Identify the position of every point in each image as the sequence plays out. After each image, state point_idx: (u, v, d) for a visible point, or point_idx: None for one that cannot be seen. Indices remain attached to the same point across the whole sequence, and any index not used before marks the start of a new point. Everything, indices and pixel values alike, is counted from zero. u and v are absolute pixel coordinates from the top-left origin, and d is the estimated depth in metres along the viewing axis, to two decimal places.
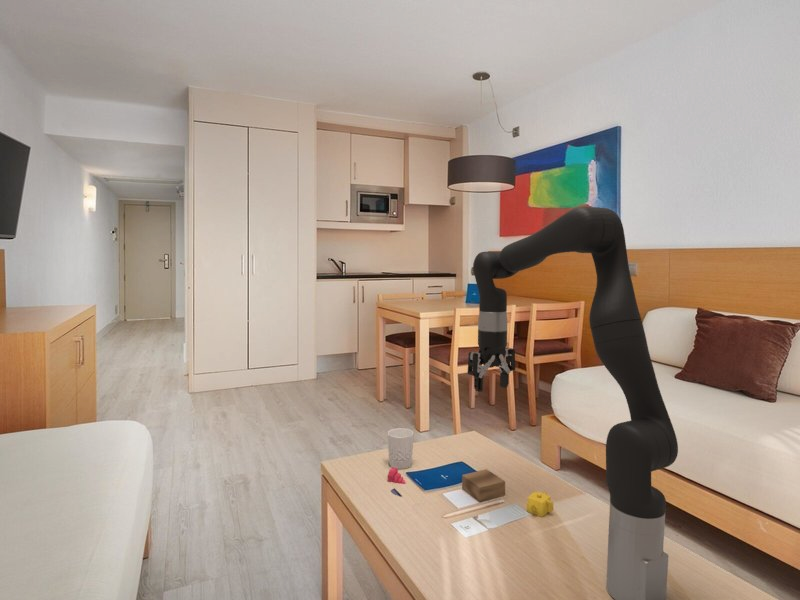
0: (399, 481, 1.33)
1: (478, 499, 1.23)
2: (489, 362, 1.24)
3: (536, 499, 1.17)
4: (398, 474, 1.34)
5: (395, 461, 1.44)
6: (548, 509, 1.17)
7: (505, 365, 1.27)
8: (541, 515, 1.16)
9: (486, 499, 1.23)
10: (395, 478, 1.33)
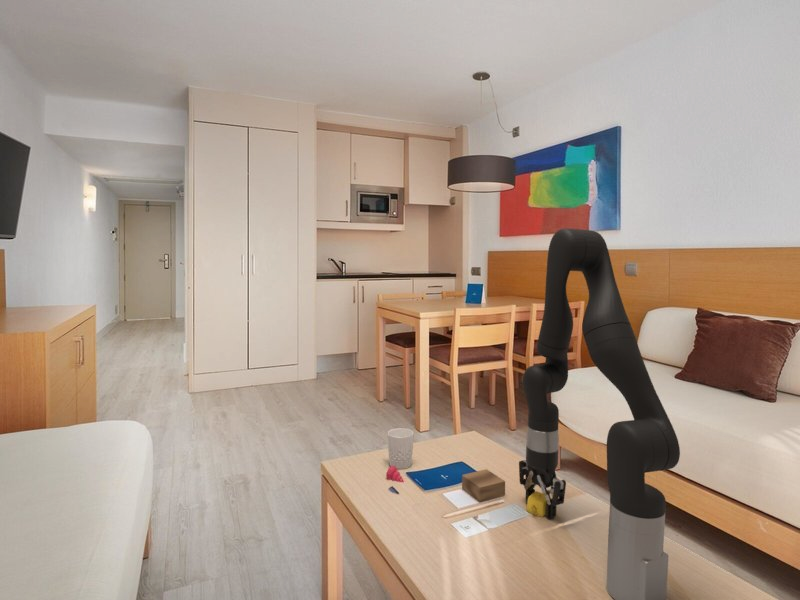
0: (397, 479, 1.34)
1: (478, 499, 1.23)
2: None
3: (536, 499, 1.17)
4: (397, 472, 1.35)
5: (395, 461, 1.44)
6: None
7: None
8: (541, 515, 1.16)
9: (486, 499, 1.23)
10: (393, 476, 1.35)
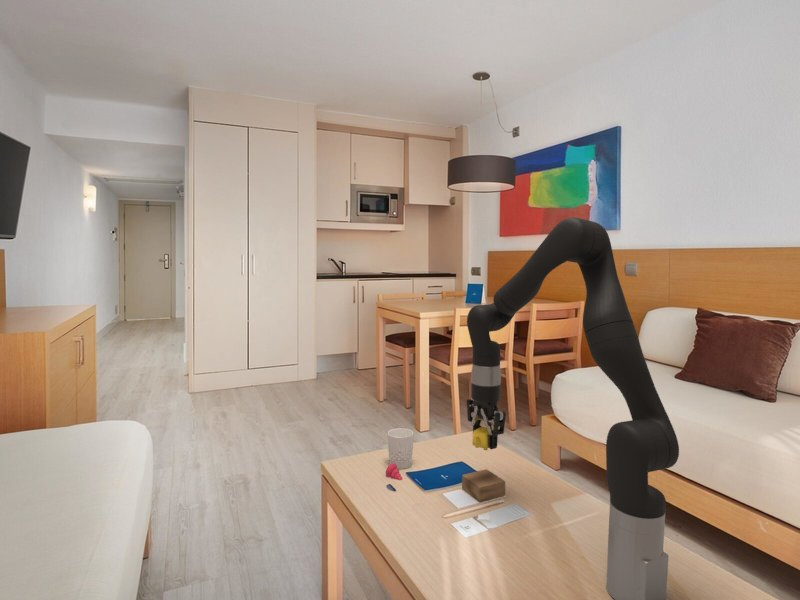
0: (396, 477, 1.35)
1: (478, 499, 1.23)
2: None
3: (481, 432, 1.25)
4: (396, 470, 1.37)
5: (395, 461, 1.44)
6: None
7: None
8: (485, 446, 1.24)
9: (486, 499, 1.23)
10: (392, 474, 1.36)
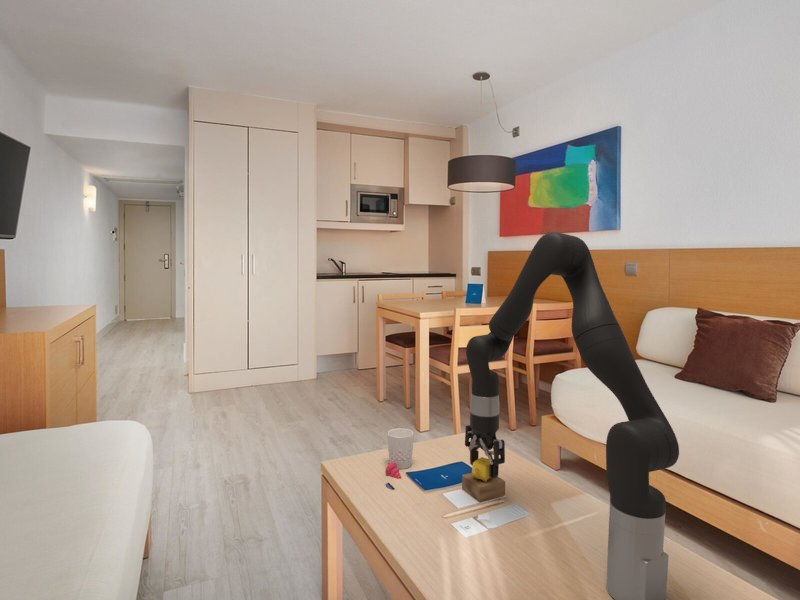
0: (395, 476, 1.36)
1: (478, 499, 1.23)
2: None
3: (480, 463, 1.26)
4: (395, 469, 1.38)
5: (395, 461, 1.44)
6: None
7: None
8: (484, 478, 1.24)
9: (486, 499, 1.23)
10: (392, 473, 1.37)
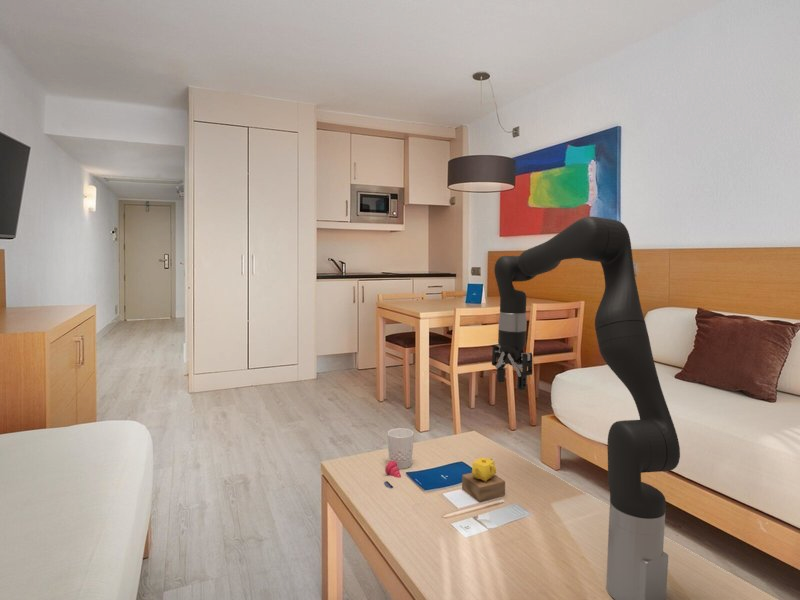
0: (394, 474, 1.37)
1: (478, 499, 1.23)
2: None
3: (480, 463, 1.26)
4: (395, 468, 1.38)
5: None
6: (491, 472, 1.25)
7: None
8: (484, 478, 1.24)
9: (486, 499, 1.23)
10: (391, 471, 1.38)
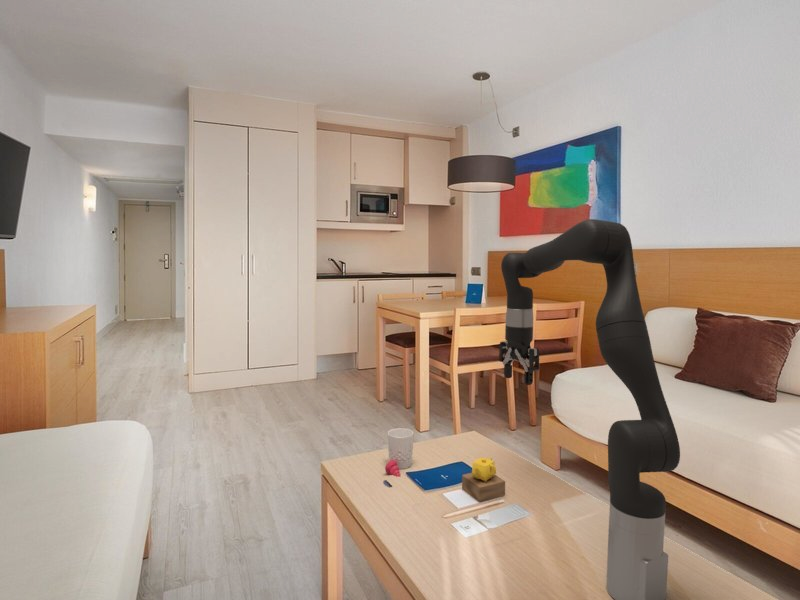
0: (394, 473, 1.38)
1: (478, 499, 1.23)
2: None
3: (480, 463, 1.26)
4: (395, 467, 1.39)
5: None
6: (491, 472, 1.25)
7: None
8: (484, 478, 1.24)
9: (486, 499, 1.23)
10: (391, 470, 1.38)
